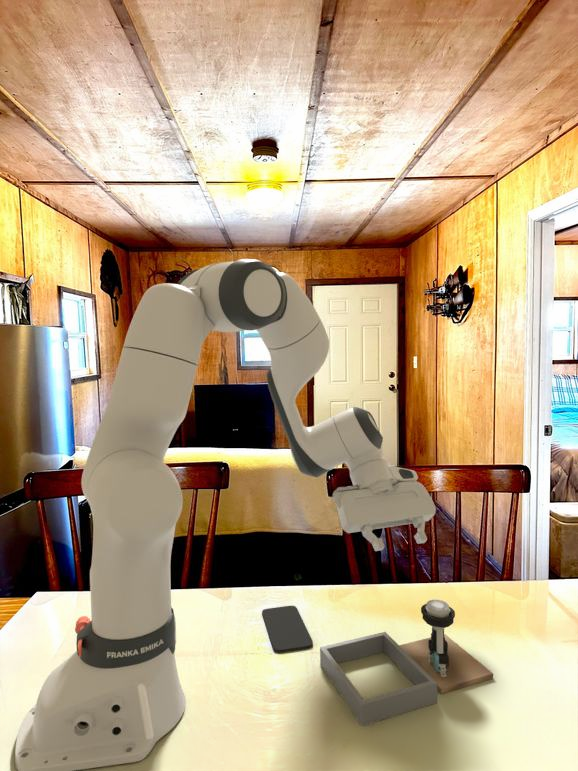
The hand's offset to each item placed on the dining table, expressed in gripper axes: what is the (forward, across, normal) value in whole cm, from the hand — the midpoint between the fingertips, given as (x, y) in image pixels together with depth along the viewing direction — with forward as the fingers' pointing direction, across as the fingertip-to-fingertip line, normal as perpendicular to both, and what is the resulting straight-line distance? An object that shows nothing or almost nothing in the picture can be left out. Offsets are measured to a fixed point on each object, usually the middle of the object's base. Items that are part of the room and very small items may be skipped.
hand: (401, 545), depth 90 cm
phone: (+6, -21, +17) cm, 28 cm away
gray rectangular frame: (+20, -13, +2) cm, 24 cm away
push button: (+20, -2, +1) cm, 20 cm away
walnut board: (+20, 0, +3) cm, 20 cm away
